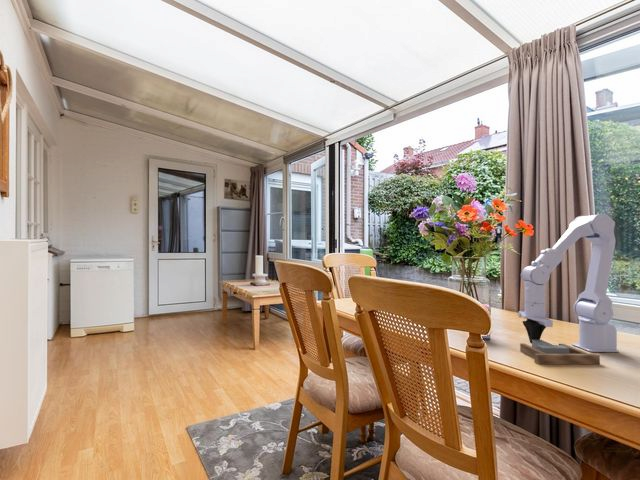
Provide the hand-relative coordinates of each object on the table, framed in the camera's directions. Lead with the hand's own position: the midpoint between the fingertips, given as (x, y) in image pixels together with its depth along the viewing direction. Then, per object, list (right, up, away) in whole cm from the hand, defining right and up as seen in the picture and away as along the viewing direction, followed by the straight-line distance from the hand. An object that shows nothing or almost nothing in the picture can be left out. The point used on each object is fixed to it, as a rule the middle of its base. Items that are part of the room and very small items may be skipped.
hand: (534, 343), depth 113 cm
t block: (0, -1, -6) cm, 6 cm away
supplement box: (-12, -2, +12) cm, 17 cm away
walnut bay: (0, -1, -9) cm, 9 cm away
